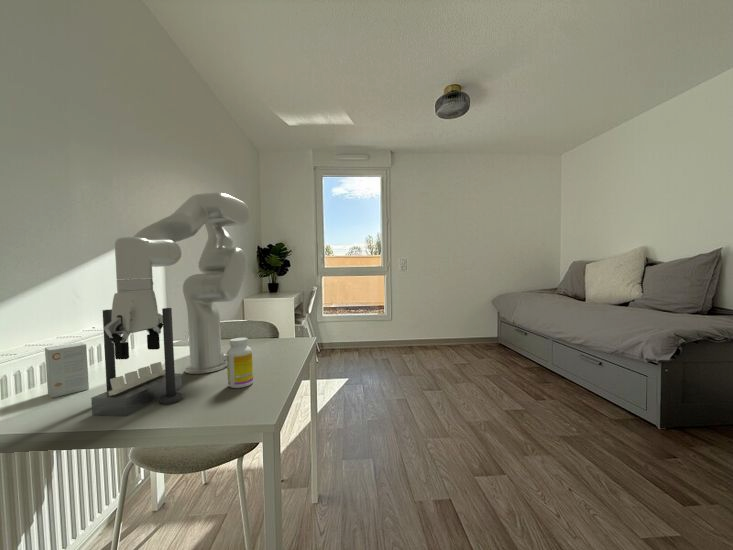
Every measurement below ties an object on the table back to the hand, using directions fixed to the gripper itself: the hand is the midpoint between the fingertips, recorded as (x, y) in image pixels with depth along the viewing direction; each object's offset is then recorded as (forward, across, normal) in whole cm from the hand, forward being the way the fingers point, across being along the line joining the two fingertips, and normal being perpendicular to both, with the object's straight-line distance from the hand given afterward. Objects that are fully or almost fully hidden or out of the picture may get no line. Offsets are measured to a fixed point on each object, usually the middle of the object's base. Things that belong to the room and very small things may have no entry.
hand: (138, 353), depth 85 cm
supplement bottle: (+12, -12, +20) cm, 27 cm away
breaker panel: (+12, 0, 0) cm, 12 cm away
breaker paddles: (+7, 0, 0) cm, 7 cm away
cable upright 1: (+12, 0, -8) cm, 15 cm away
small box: (+12, -5, -28) cm, 31 cm away
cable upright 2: (+12, 0, +8) cm, 15 cm away
